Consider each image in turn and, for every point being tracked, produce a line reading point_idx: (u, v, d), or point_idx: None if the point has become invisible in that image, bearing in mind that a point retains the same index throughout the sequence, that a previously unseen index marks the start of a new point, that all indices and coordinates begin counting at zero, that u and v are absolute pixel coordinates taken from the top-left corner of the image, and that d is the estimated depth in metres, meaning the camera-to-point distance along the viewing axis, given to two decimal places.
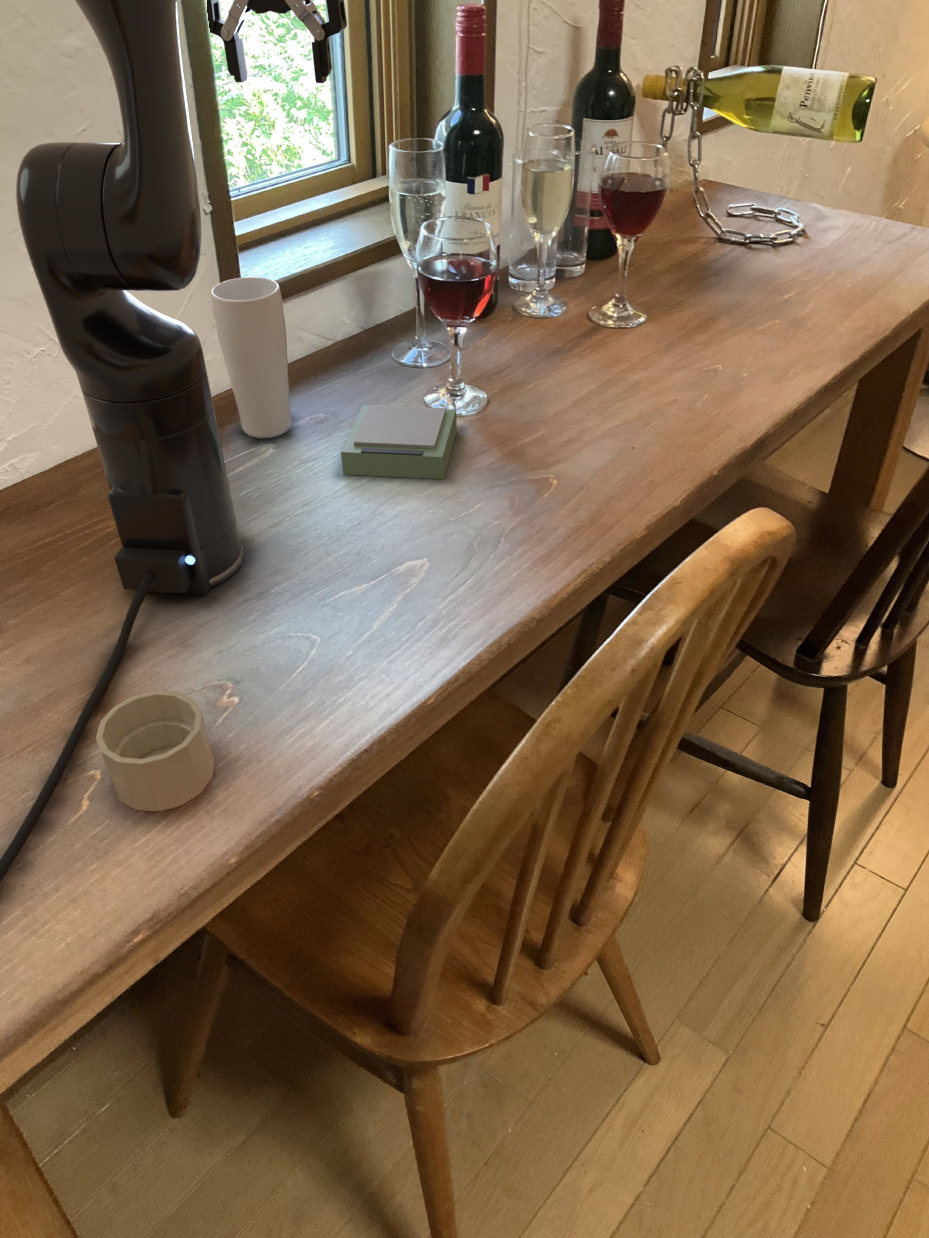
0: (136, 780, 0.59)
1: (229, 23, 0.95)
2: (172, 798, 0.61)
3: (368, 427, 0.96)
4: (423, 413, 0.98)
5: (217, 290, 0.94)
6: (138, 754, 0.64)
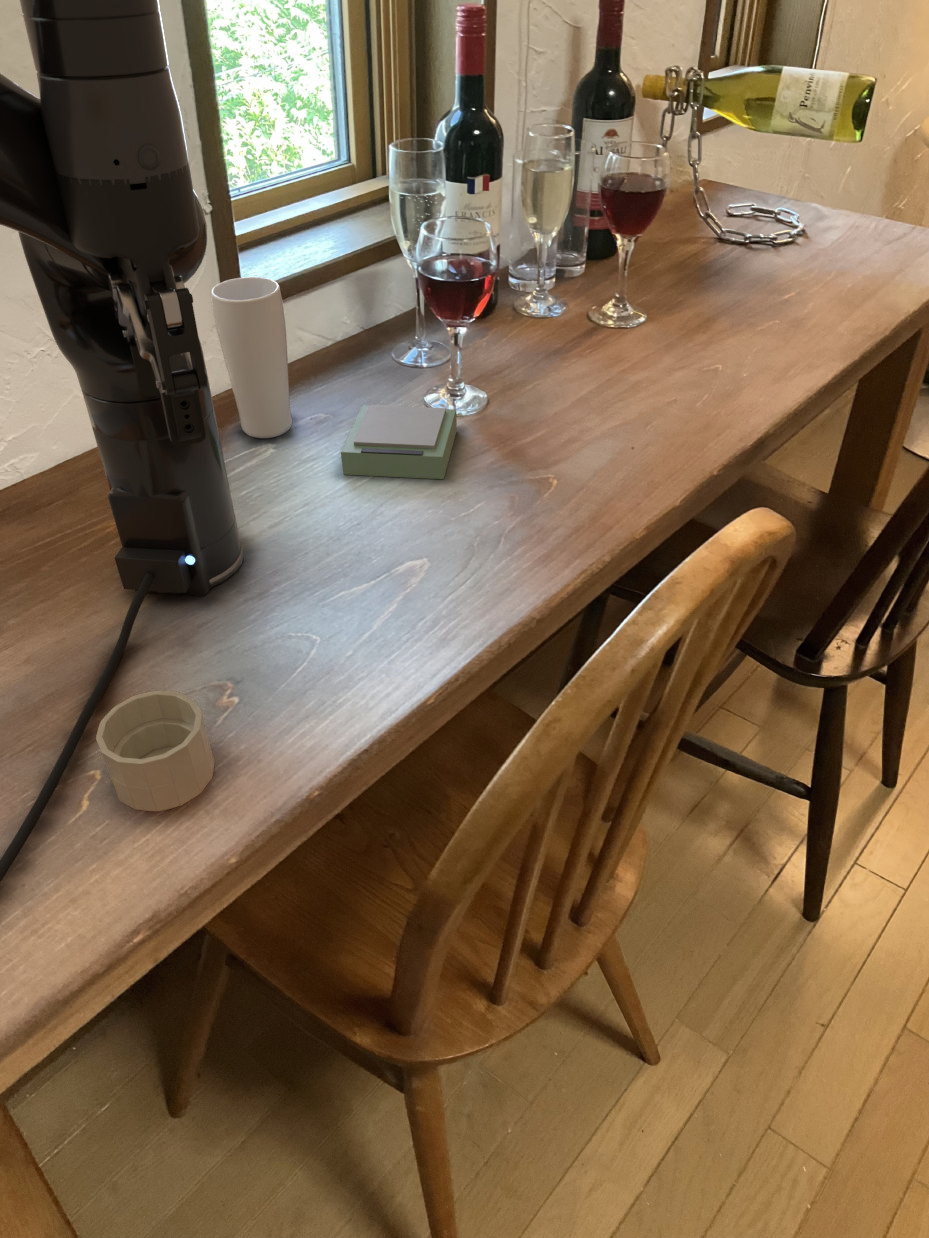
0: (136, 780, 0.59)
1: None
2: (172, 798, 0.61)
3: (368, 427, 0.96)
4: (423, 413, 0.98)
5: (217, 291, 0.94)
6: (138, 754, 0.64)
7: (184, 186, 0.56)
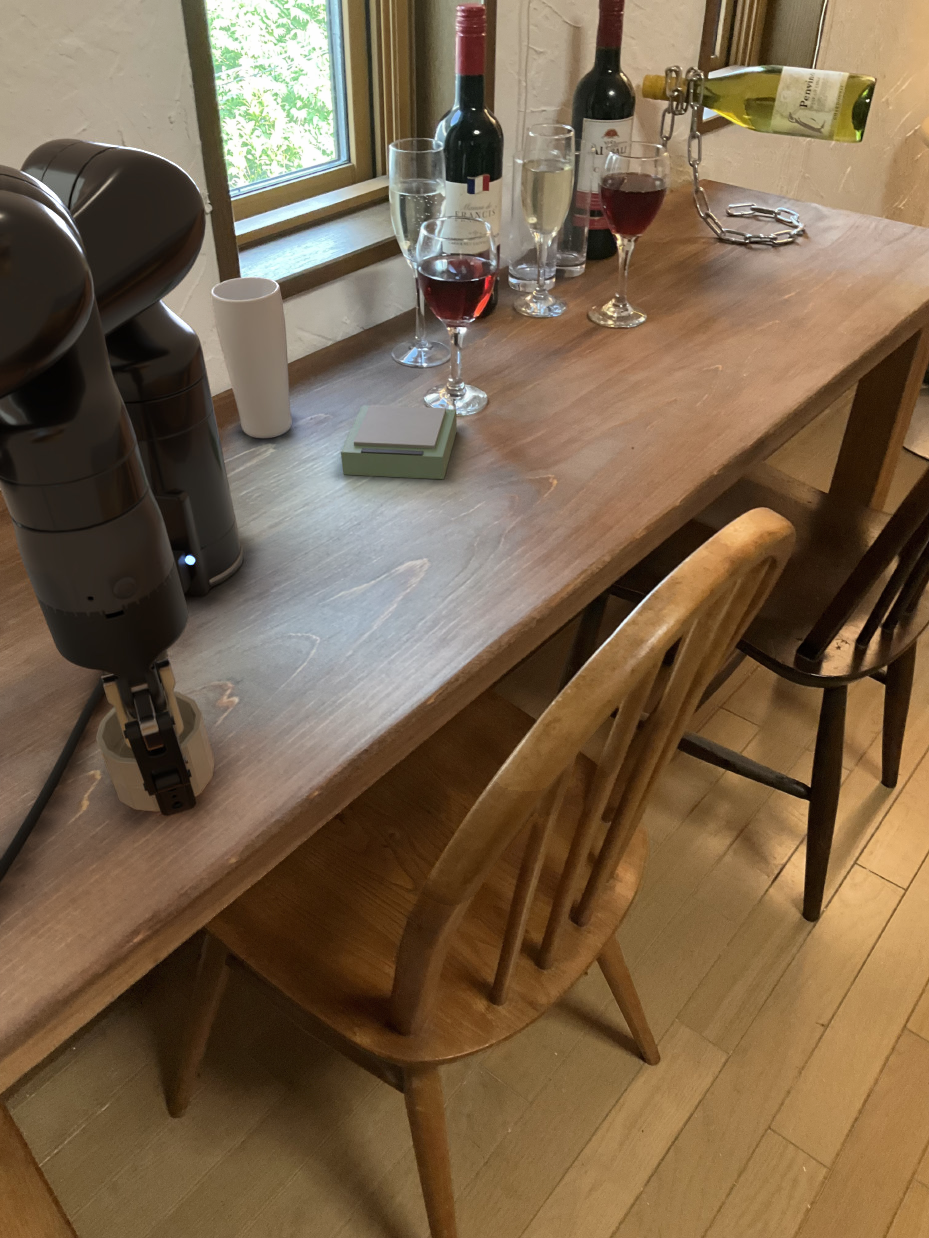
0: (136, 780, 0.59)
1: None
2: None
3: (368, 427, 0.96)
4: (423, 413, 0.98)
5: (217, 291, 0.94)
6: None
7: (167, 595, 0.53)
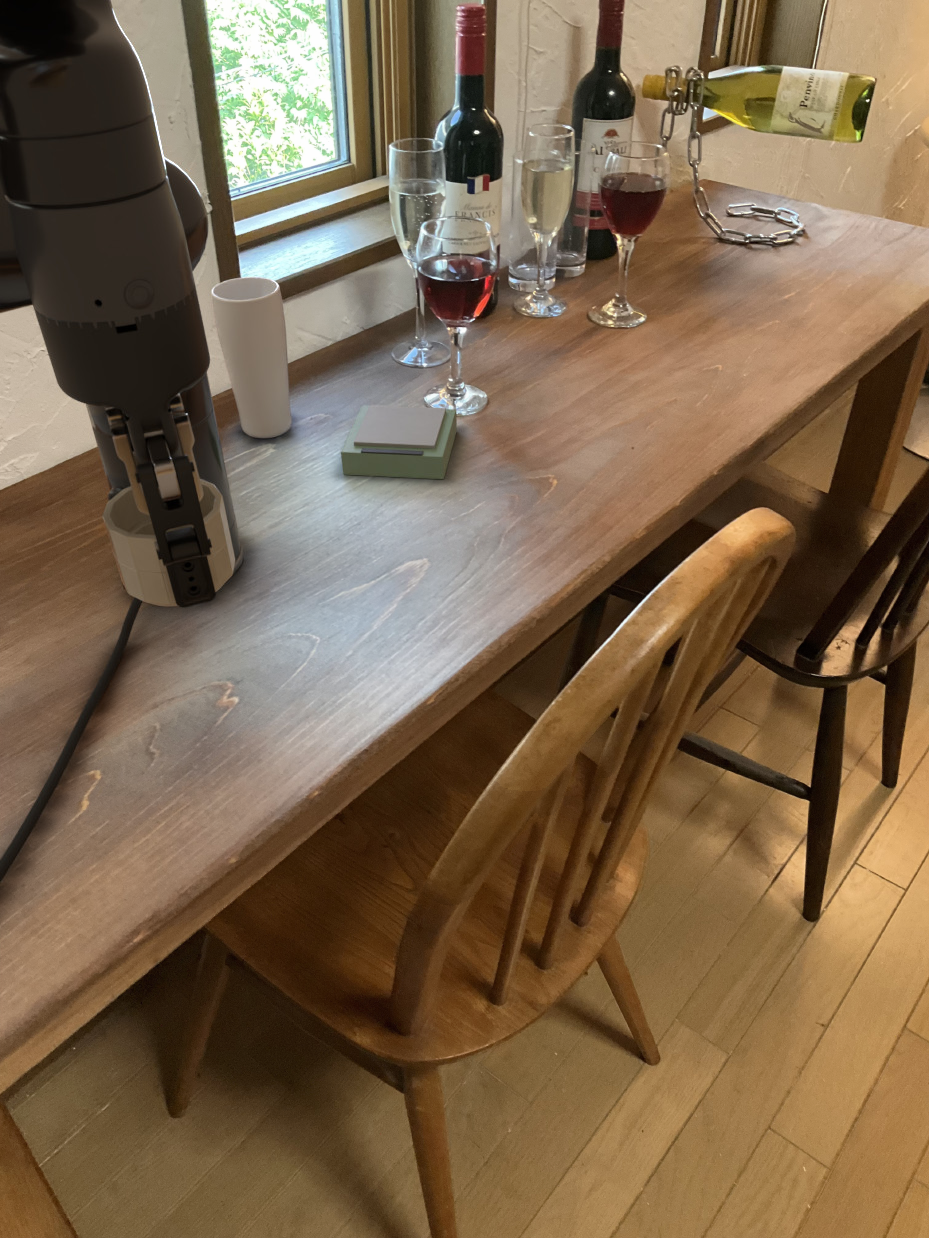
0: (147, 562, 0.52)
1: None
2: None
3: (368, 427, 0.96)
4: (423, 413, 0.98)
5: (217, 291, 0.94)
6: None
7: (187, 320, 0.46)
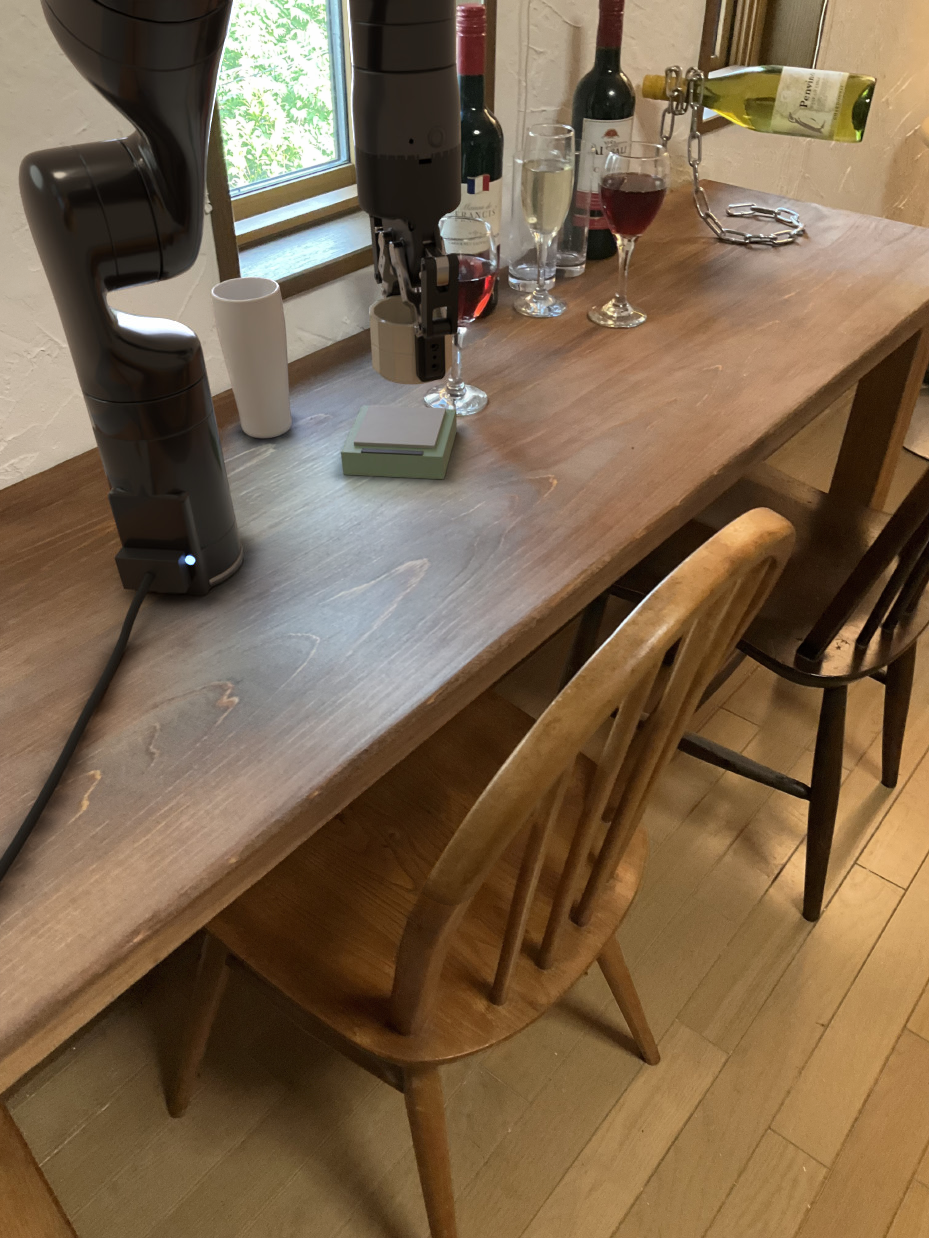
0: (403, 345, 0.73)
1: None
2: None
3: (368, 427, 0.96)
4: (423, 413, 0.98)
5: (217, 290, 0.94)
6: None
7: (457, 161, 0.67)
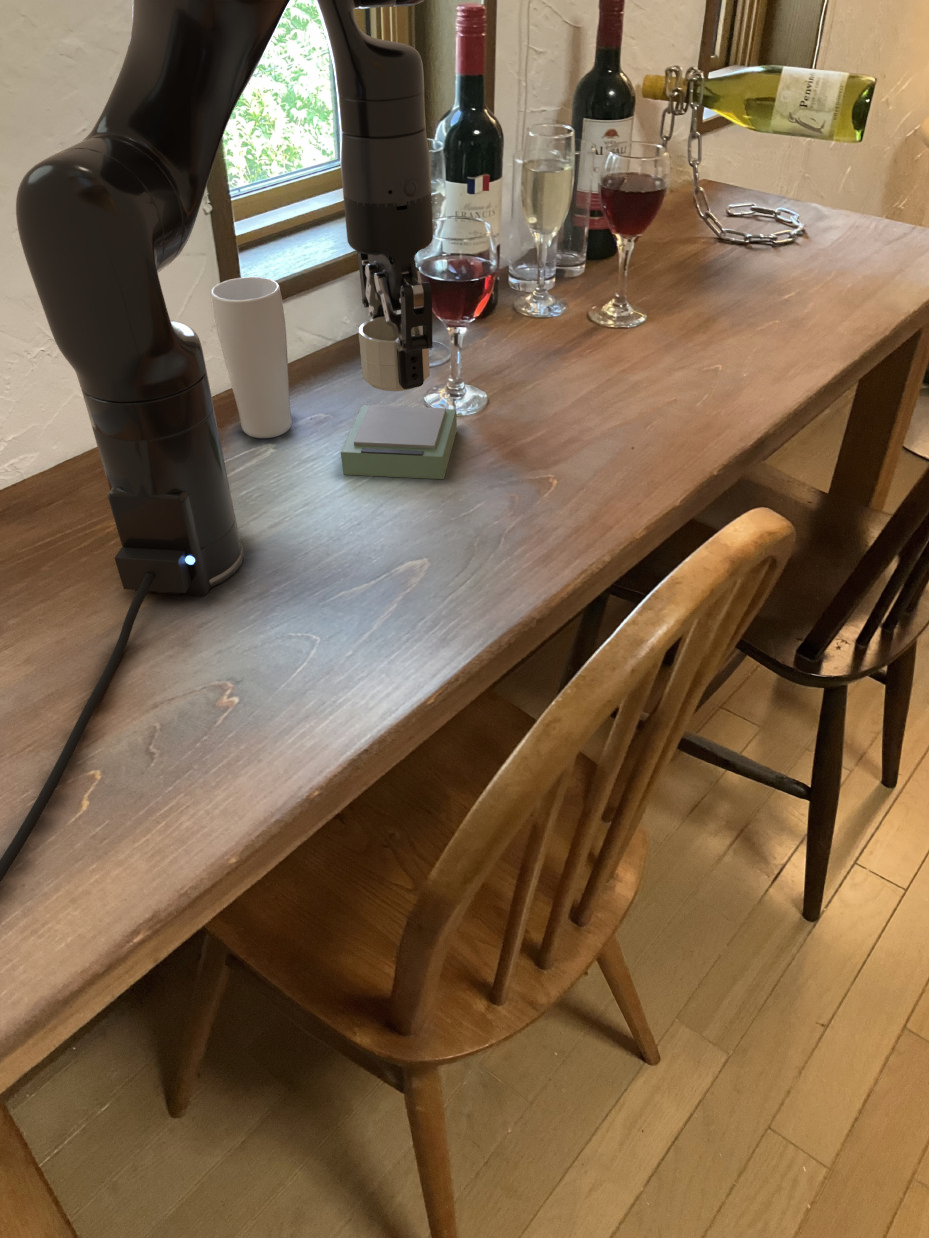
0: (388, 358, 0.88)
1: None
2: None
3: (368, 427, 0.96)
4: (423, 413, 0.98)
5: (217, 291, 0.94)
6: None
7: (428, 206, 0.81)
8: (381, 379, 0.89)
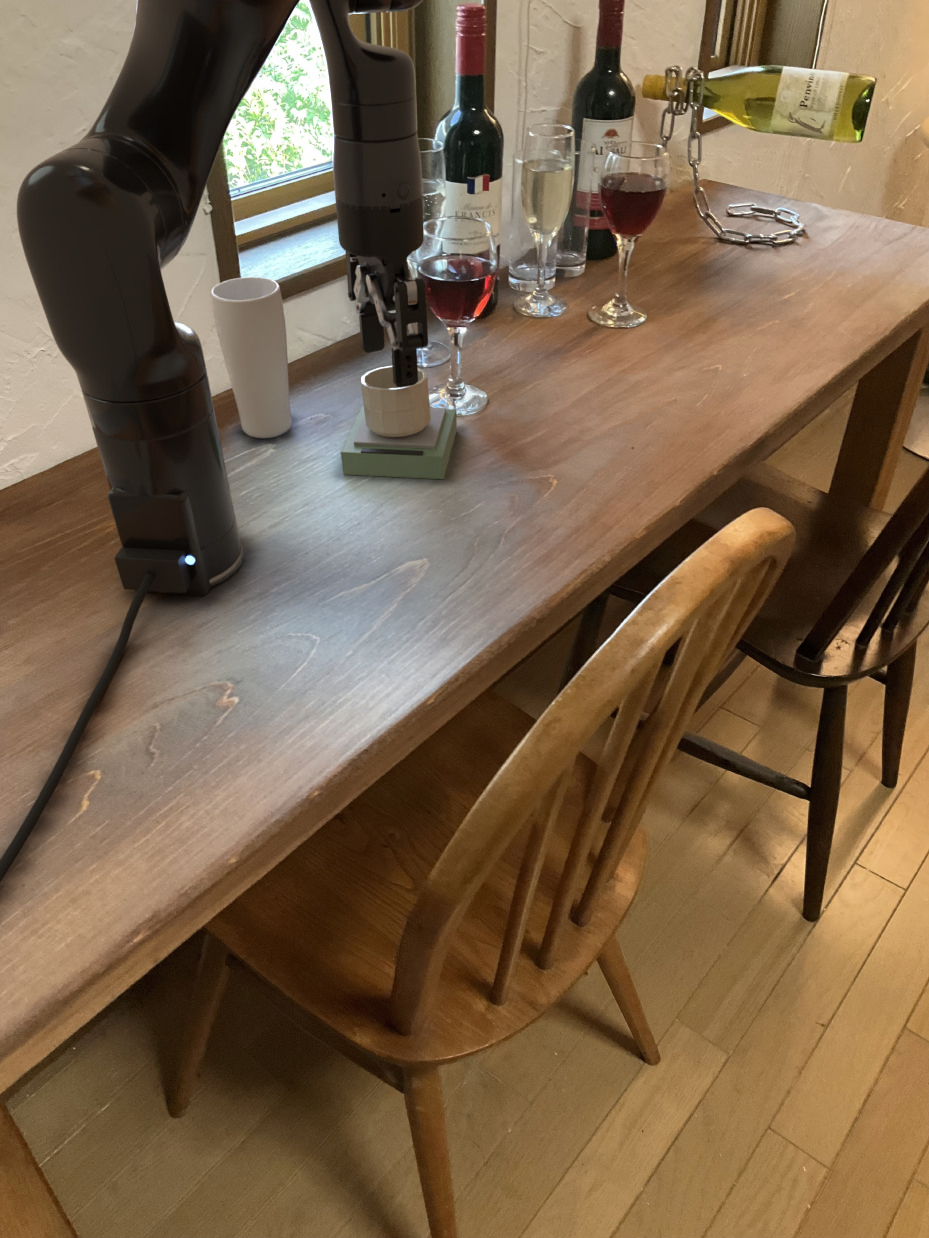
0: (389, 405, 0.91)
1: None
2: (409, 423, 0.92)
3: None
4: None
5: (217, 291, 0.94)
6: None
7: (420, 209, 0.82)
8: (384, 425, 0.92)
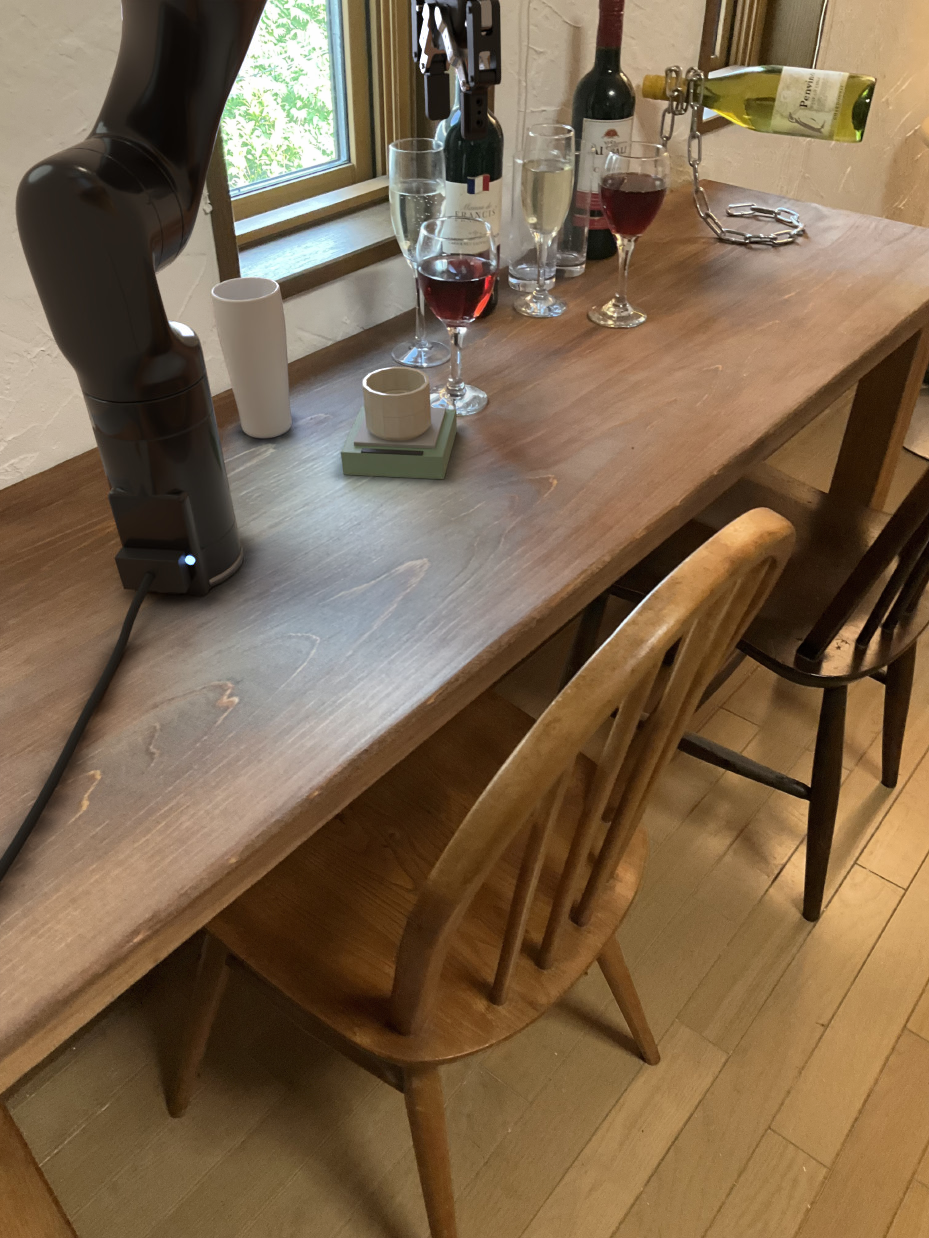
0: (391, 411, 0.91)
1: (423, 55, 0.86)
2: (410, 428, 0.92)
3: None
4: None
5: (217, 291, 0.94)
6: None
7: None
8: (384, 430, 0.92)
